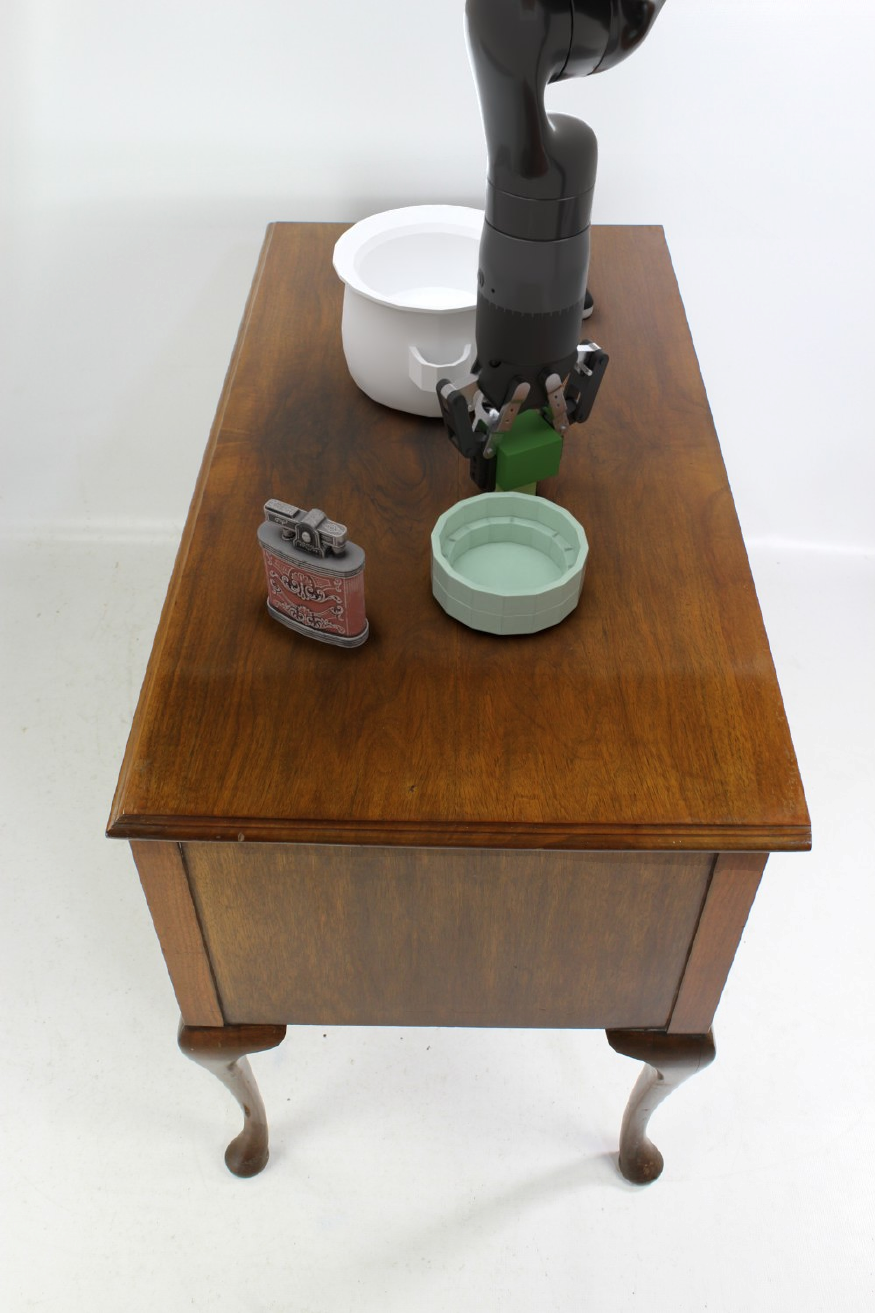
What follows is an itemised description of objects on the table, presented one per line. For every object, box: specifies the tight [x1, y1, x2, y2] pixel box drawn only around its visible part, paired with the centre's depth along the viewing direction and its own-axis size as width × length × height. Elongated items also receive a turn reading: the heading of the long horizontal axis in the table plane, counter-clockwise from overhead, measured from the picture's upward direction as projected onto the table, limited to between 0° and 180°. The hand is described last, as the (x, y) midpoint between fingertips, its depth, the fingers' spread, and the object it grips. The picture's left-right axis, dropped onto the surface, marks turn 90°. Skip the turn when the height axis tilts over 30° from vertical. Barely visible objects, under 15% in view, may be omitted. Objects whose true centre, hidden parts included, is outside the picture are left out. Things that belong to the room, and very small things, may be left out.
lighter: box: [256, 498, 370, 649], centre depth 74 cm, size 8×3×10 cm, turn 62°
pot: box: [332, 204, 485, 418], centre depth 94 cm, size 22×17×12 cm
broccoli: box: [486, 409, 564, 496], centre depth 85 cm, size 5×5×6 cm
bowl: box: [429, 492, 590, 636], centre depth 78 cm, size 11×11×4 cm
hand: (515, 476), depth 86 cm, fingers closed on broccoli, 5 cm apart
